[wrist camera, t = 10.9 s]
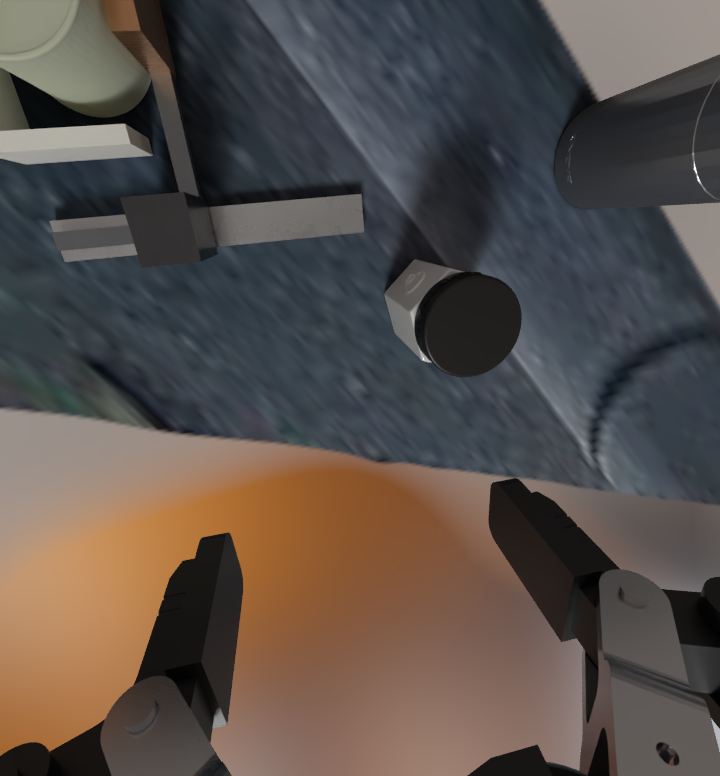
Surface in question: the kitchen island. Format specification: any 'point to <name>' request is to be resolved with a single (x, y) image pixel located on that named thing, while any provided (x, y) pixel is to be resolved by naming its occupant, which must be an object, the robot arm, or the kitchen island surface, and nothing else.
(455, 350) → the jar
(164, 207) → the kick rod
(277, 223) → the rail
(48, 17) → the can
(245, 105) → the kitchen island surface
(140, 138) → the frame
